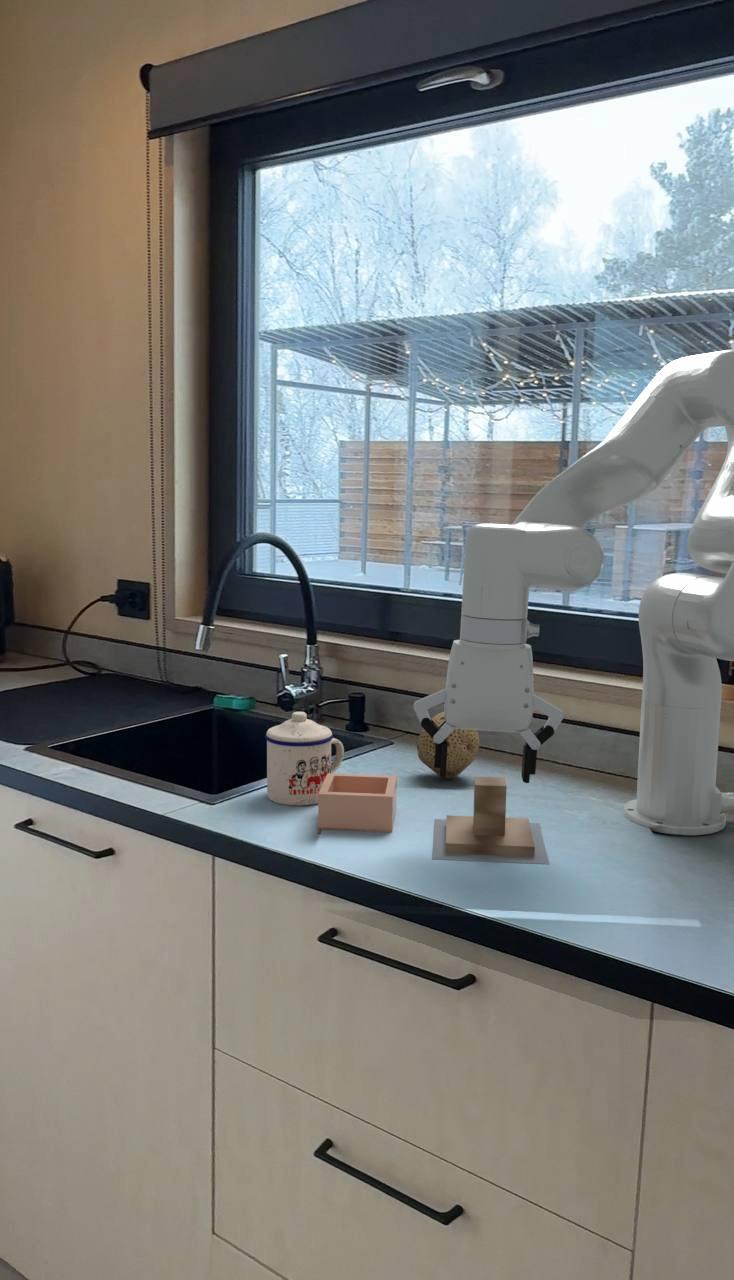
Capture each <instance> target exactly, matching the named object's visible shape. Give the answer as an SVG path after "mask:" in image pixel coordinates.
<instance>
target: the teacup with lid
mask: <svg viewBox="0 0 734 1280" xmlns="http://www.w3.org/2000/svg"><path fill="white" fill-rule="evenodd" d="M307 716H308V715H307V713H306V712H304V711H294V712H293V713H292V714H291V718H290V719H287V720H285V721H284V722H282V723H280V724H278V725H277V724H276V725H275V726H272V727H270V728H268V730H267V731H266V734H265V735H264V737H265V740H266V789H267V790H266V794H267V795H266V796H267V797H268V799H269V800H270V801H272V802H274V803H276V804H279V805H283V806H284V805H286V806H297V807H298V806H302V807H303V806H312V805H318V794H319V791H320V789H321V787H322V785H323V782H324V780H325V778H326V775H327V773H335V772H336V771H337V770H338V769H339V768H340V766H341V765H342V762H343V761H344V760H343V759H344V755H345V748H344V745H343V743H342V742H341V741H340V740H339V739H337V738H335V737H334V736H333V732H332V730H331V729H330V728H329V727H327V726H326V725H321V724H319V723H317V722H315V721H314V720H311V719H308V718H307ZM332 745H334V746H335V750H336V751H335V757H334V760H333V762H332Z"/></svg>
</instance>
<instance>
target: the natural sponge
mask: <svg viewBox="0 0 734 1280" xmlns="http://www.w3.org/2000/svg"><path fill="white" fill-rule="evenodd" d="M431 719H432V720H433V721H434V722H435V723H436V724H437V726H439V725H440V724H441V723H442V722H443V721H444V720H445V714H444V711H441V712H440V713H437V714H435V715H434V716H433V717H432V718H431ZM446 740H448V746H447V763H446V776H444V777H442V778H443V779H447V780H450V779H452V778H455V777H458V776H459V775H460V774H461V773H463V771H465V770H466V769H467V768H468V767H469V766H470V765H471V764H472V763H473V762H474V760H475V759H476V756H477V755H478V753H479V749H480V736H479V732H478V730H467V729H458V728H455V729H454V730H453V731H452V732H451V733H450V734H449V735H448V737H447V738H446ZM416 750H417V756H418V759H419V760H420V762H421V763H423V764H424V765H425V766H426V767H427V768H429V769H430V770H432V772H433V773H435V774H436V775H438V776H439V777H440V768H434V761H435V742H434V740H433V738H432V737H431V736H430V735H429V734H428V733H427V732H426V731H425V730H424V729H423V728H422V729H421V732H420V734H419V736H418V739H417V742H416Z"/></svg>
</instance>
